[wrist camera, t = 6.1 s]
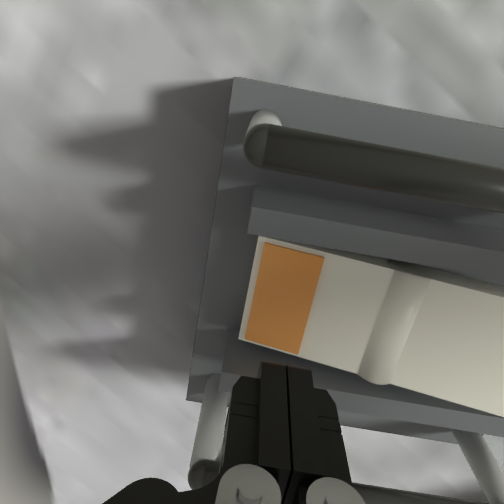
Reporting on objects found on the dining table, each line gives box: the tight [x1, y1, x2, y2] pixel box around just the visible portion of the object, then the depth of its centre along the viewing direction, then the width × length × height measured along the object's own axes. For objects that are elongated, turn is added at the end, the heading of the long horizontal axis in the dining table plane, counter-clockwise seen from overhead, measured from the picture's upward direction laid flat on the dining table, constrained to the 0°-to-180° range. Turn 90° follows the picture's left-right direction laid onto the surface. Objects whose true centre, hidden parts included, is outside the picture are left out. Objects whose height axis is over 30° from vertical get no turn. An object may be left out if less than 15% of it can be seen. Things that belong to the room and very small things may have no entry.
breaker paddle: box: [238, 236, 504, 417], centre depth 17 cm, size 12×5×2 cm, turn 80°
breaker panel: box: [186, 77, 504, 504], centre depth 18 cm, size 16×16×10 cm
